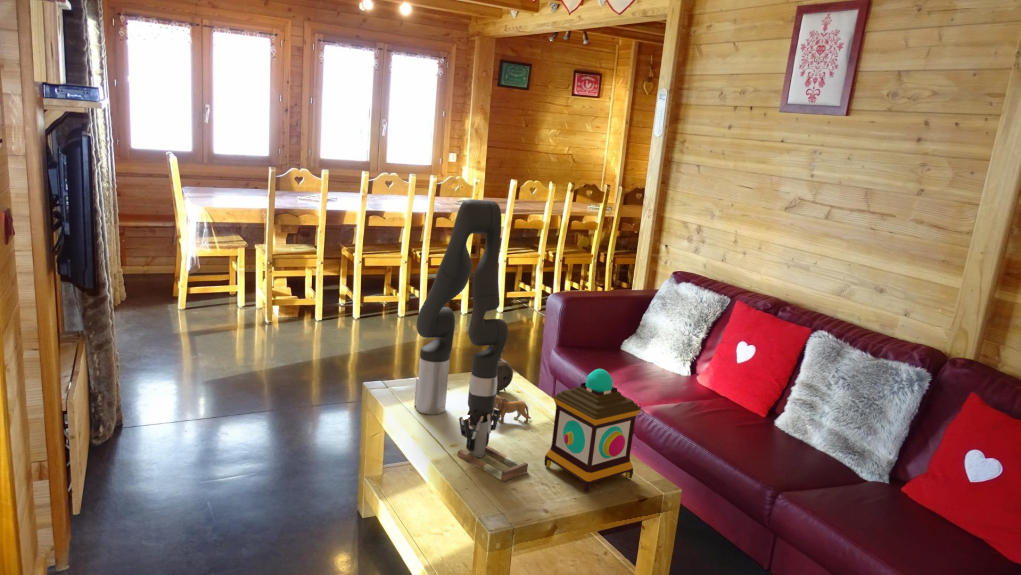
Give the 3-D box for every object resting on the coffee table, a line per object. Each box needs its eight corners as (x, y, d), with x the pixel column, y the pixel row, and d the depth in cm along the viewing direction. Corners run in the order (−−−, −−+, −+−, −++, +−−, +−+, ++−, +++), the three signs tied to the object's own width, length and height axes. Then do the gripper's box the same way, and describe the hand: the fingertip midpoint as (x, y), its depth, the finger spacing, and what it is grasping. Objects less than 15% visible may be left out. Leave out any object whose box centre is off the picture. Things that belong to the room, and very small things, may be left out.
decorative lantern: (536, 465, 202) (548, 361, 195) (588, 451, 214) (601, 353, 207) (586, 498, 187) (600, 387, 180) (639, 481, 199) (655, 376, 192)
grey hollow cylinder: (482, 458, 202) (486, 423, 199) (466, 455, 202) (469, 420, 200) (486, 451, 206) (489, 417, 204) (470, 448, 207) (474, 414, 204)
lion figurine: (490, 426, 224) (493, 398, 222) (484, 419, 229) (486, 392, 227) (534, 423, 230) (537, 396, 228) (527, 416, 235) (530, 389, 233)
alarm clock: (505, 388, 257) (510, 344, 253) (513, 394, 252) (518, 349, 249) (477, 391, 251) (482, 346, 248) (485, 397, 247) (489, 351, 243)
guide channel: (457, 455, 203) (458, 447, 202) (480, 447, 209) (481, 439, 209) (503, 481, 191) (504, 472, 190) (527, 472, 197) (528, 463, 197)
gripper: (491, 380, 207) (486, 436, 211) (453, 390, 197) (448, 449, 201) (510, 389, 202) (504, 446, 206) (472, 399, 192) (467, 459, 196)
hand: (477, 447), depth 204 cm, fingers closed on grey hollow cylinder, 4 cm apart
